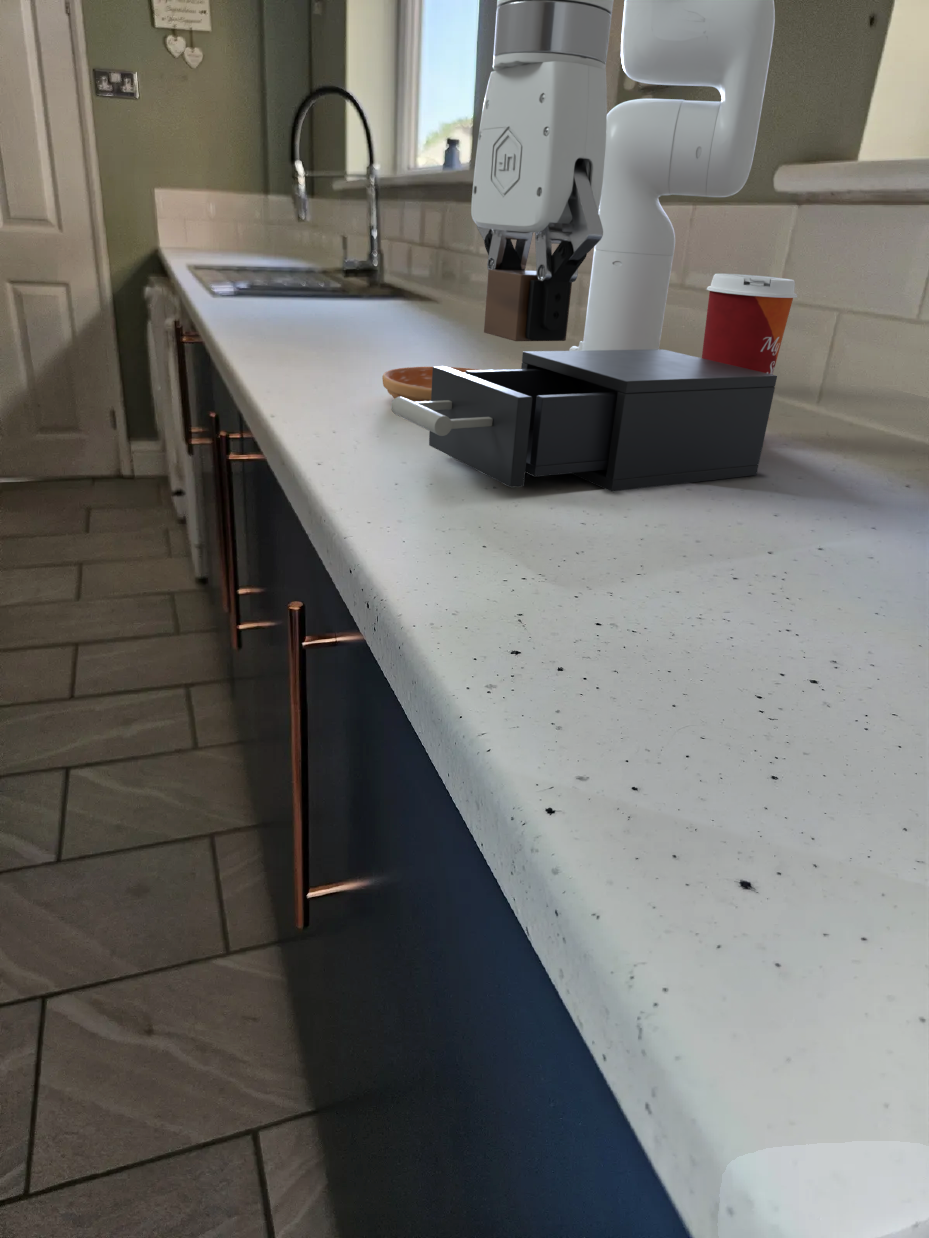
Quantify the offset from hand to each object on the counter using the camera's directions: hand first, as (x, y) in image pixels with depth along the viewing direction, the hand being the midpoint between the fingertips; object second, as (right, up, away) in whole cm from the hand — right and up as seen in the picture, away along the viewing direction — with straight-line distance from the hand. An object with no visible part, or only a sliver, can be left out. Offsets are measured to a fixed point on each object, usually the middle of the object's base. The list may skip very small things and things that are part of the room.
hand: (525, 331), depth 65 cm
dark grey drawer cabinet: (+10, -8, +10) cm, 17 cm away
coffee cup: (+21, -3, +22) cm, 31 cm away
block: (0, 0, 0) cm, 0 cm away
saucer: (-5, +1, +27) cm, 28 cm away
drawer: (0, -9, +4) cm, 10 cm away
